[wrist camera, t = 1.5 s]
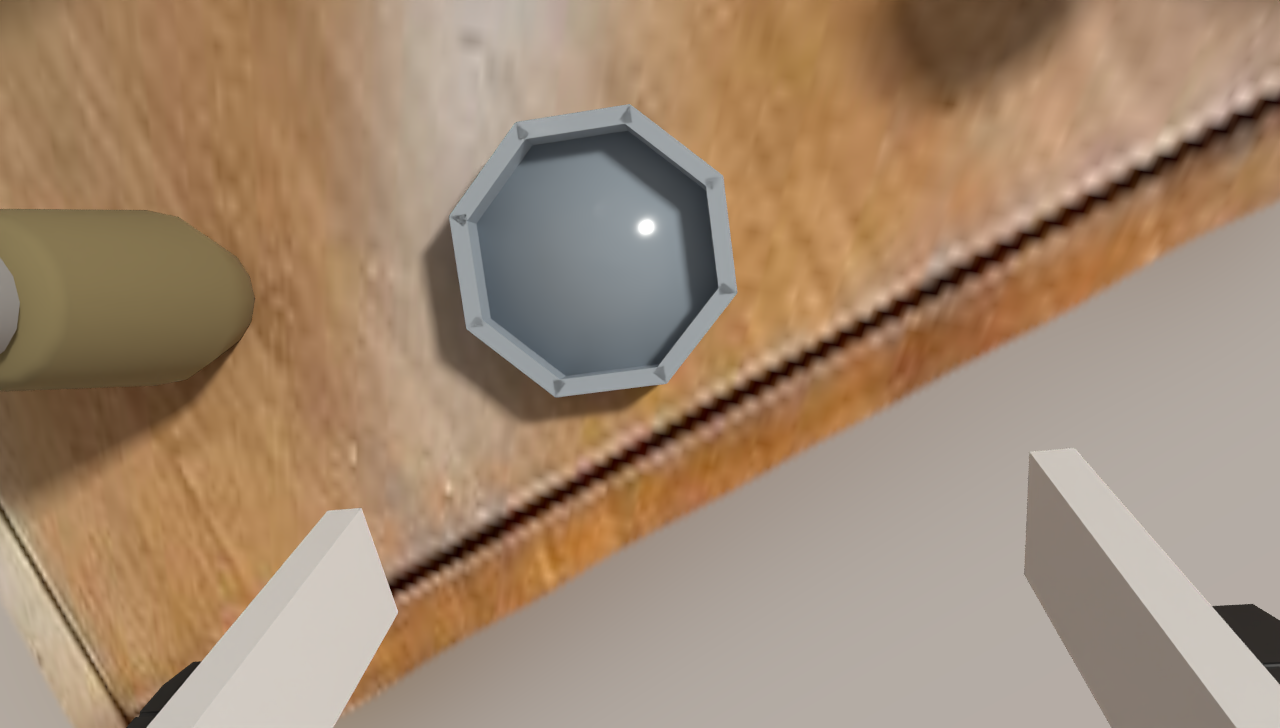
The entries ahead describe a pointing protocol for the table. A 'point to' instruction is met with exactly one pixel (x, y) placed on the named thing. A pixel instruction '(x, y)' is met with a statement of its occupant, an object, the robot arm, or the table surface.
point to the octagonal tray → (593, 251)
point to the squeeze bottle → (113, 299)
